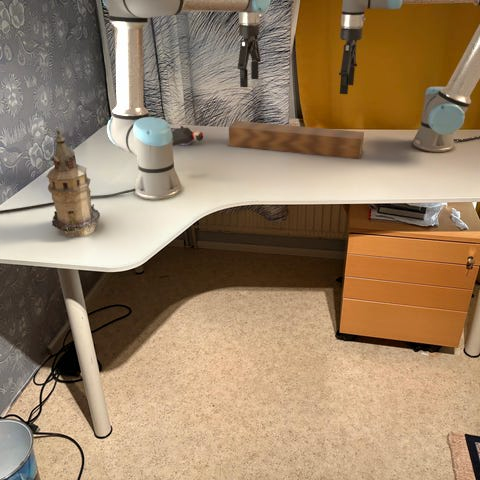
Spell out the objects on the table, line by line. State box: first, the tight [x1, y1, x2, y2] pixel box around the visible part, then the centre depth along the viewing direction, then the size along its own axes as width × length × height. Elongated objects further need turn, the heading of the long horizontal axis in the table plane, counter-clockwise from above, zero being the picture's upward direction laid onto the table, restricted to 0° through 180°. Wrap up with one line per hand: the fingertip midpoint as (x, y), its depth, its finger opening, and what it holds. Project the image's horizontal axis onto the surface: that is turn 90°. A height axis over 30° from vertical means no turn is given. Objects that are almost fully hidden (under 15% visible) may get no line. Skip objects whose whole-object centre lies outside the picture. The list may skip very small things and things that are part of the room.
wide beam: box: [228, 120, 365, 160], centre depth 211 cm, size 52×9×8 cm, turn 72°
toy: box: [171, 125, 204, 147], centre depth 219 cm, size 26×6×30 cm
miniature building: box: [46, 129, 101, 237], centre depth 148 cm, size 13×14×30 cm
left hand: (249, 83), depth 206 cm, fingers open, 13 cm apart
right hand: (346, 89), depth 195 cm, fingers open, 13 cm apart
